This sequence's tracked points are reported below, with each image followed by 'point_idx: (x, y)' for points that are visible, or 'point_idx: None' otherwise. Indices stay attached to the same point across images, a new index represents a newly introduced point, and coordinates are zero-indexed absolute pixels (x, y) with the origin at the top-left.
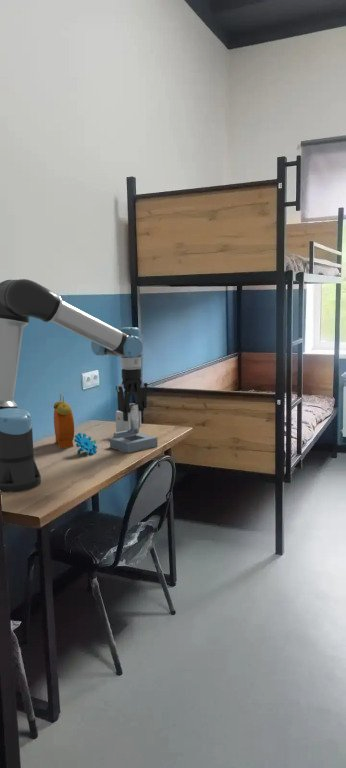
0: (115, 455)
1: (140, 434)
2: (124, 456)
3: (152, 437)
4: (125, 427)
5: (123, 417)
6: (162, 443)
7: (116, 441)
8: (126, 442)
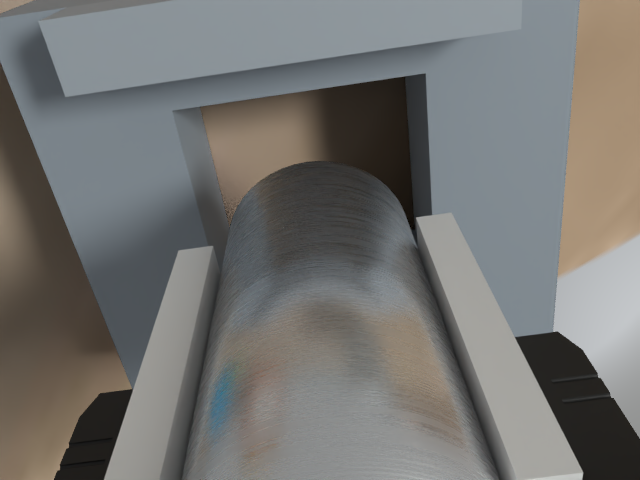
0: (19, 333)
1: (502, 89)
2: (90, 392)
3: (513, 309)
4: (178, 276)
5: (67, 469)
6: (634, 211)
7: (59, 188)
8: (142, 344)
